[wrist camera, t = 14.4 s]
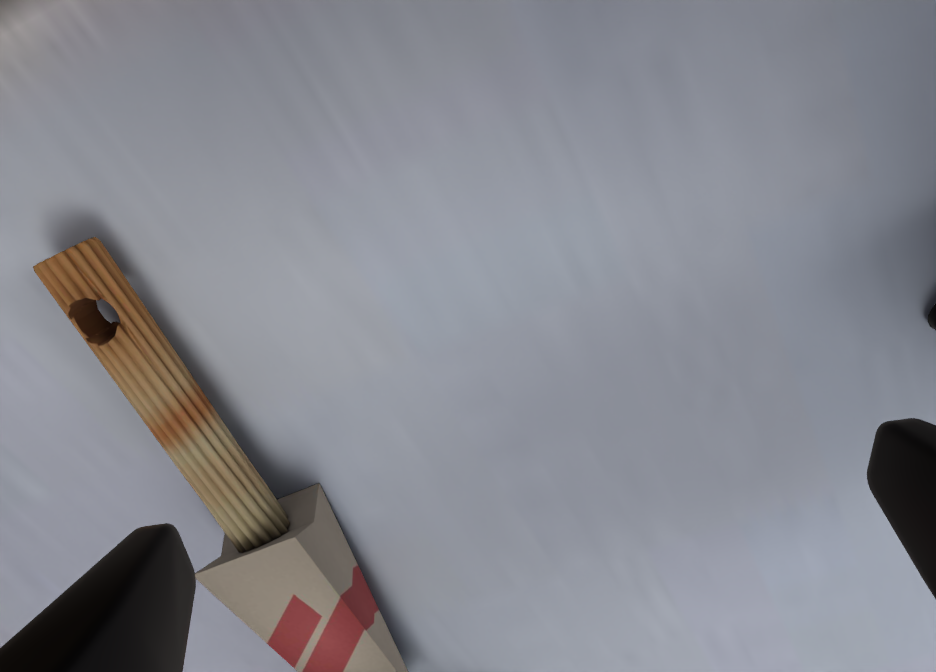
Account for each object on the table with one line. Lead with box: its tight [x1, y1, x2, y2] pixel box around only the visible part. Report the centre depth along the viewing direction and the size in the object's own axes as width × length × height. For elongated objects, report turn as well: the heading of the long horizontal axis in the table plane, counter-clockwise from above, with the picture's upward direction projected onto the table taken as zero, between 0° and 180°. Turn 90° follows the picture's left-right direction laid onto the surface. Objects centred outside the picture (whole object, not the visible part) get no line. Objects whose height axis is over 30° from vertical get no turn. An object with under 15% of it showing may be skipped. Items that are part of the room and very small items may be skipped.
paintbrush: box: [33, 237, 408, 672], centre depth 22 cm, size 4×3×20 cm
